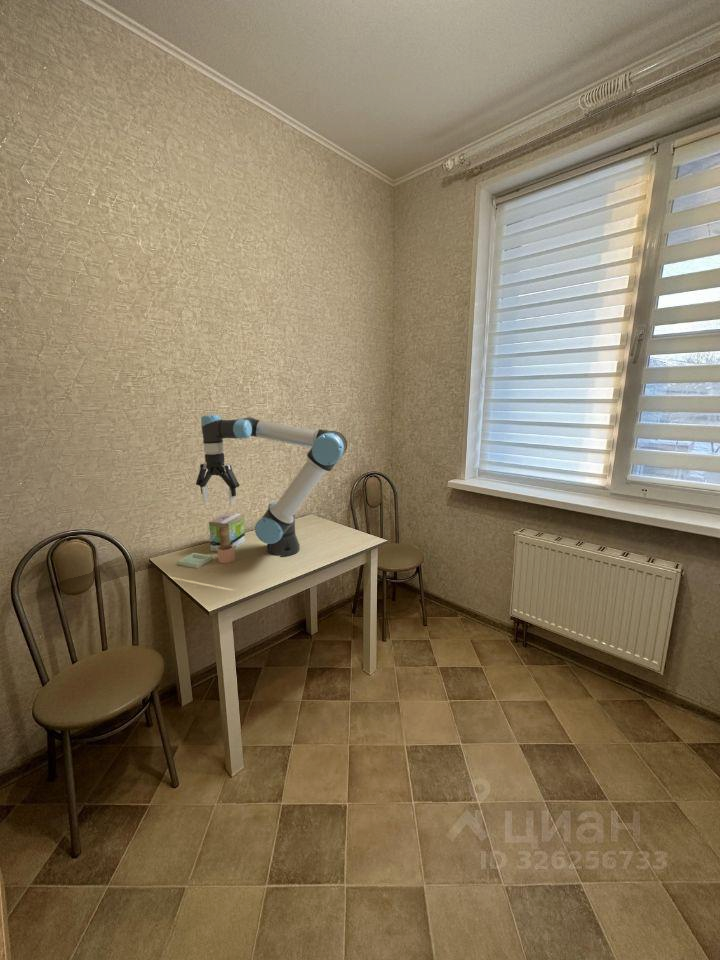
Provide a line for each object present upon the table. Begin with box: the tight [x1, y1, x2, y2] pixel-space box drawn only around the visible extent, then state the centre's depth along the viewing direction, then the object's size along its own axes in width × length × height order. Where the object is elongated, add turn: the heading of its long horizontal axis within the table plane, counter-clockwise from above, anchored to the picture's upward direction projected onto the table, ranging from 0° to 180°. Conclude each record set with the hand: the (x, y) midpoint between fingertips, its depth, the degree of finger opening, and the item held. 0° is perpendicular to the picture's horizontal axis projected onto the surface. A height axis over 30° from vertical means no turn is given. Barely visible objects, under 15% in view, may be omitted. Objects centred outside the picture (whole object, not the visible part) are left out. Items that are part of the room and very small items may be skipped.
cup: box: [216, 545, 236, 564], centre depth 166 cm, size 7×7×6 cm
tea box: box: [208, 512, 246, 552], centre depth 181 cm, size 15×10×15 cm, turn 168°
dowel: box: [219, 526, 230, 550], centre depth 164 cm, size 4×4×15 cm
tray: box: [177, 552, 213, 569], centre depth 164 cm, size 10×9×2 cm
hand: (219, 502), depth 161 cm, fingers open, 13 cm apart
